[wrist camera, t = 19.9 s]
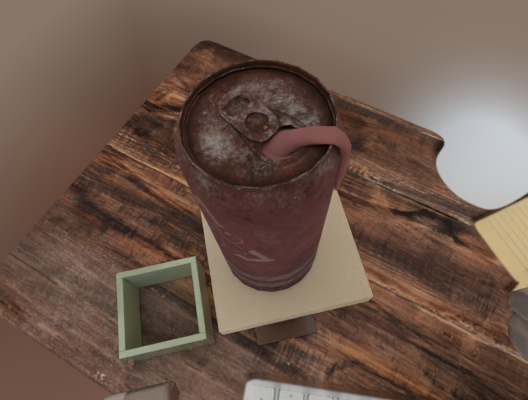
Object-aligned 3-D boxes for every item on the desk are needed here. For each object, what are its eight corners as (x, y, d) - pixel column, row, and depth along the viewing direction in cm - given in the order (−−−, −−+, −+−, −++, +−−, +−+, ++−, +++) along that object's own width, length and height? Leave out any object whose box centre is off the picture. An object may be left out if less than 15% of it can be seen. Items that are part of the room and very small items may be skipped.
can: (316, 299, 23) (356, 206, 10) (218, 287, 24) (145, 187, 11) (322, 212, 26) (359, 55, 13) (233, 204, 26) (188, 46, 14)
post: (316, 332, 49) (349, 289, 25) (258, 346, 49) (234, 316, 24) (301, 275, 52) (317, 188, 28) (247, 287, 52) (216, 210, 28)
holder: (215, 342, 49) (206, 338, 44) (137, 361, 48) (118, 359, 43) (204, 267, 54) (195, 255, 48) (133, 283, 53) (116, 273, 48)
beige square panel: (368, 300, 24) (373, 296, 23) (222, 335, 24) (219, 332, 22) (326, 175, 29) (328, 165, 27) (202, 201, 28) (197, 192, 27)
